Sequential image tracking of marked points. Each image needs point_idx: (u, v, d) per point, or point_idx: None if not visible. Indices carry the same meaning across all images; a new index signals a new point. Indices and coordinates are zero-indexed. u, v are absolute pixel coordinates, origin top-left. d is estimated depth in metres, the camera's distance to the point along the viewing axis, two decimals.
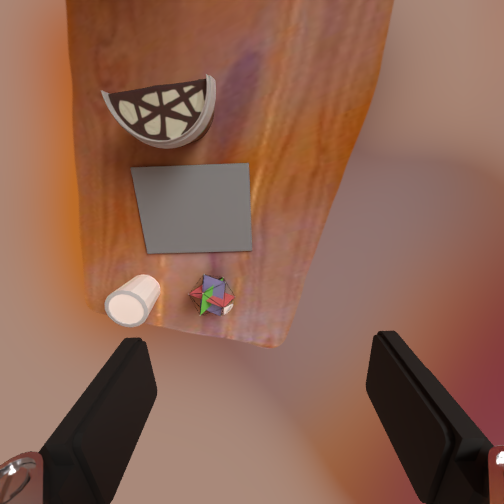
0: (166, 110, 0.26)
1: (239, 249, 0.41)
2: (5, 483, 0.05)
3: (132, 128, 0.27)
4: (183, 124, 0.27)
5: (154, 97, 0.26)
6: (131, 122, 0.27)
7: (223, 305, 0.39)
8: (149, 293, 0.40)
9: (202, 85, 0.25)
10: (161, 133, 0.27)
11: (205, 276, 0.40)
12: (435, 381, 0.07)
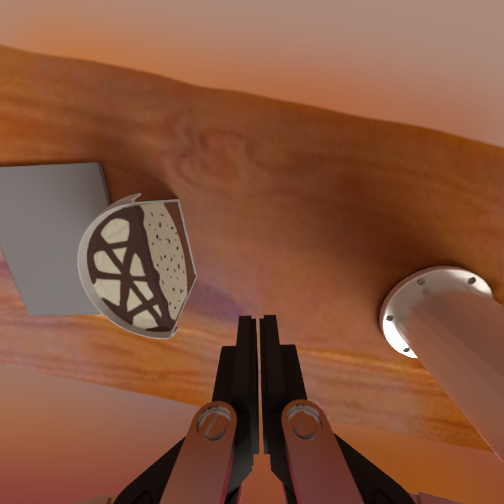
0: (127, 283, 0.19)
1: (25, 301, 0.30)
2: (210, 423, 0.06)
3: (94, 233, 0.18)
4: (116, 300, 0.20)
5: (138, 271, 0.19)
6: (103, 233, 0.18)
7: None
8: None
9: (162, 326, 0.20)
10: (98, 272, 0.19)
11: None
12: (279, 353, 0.08)
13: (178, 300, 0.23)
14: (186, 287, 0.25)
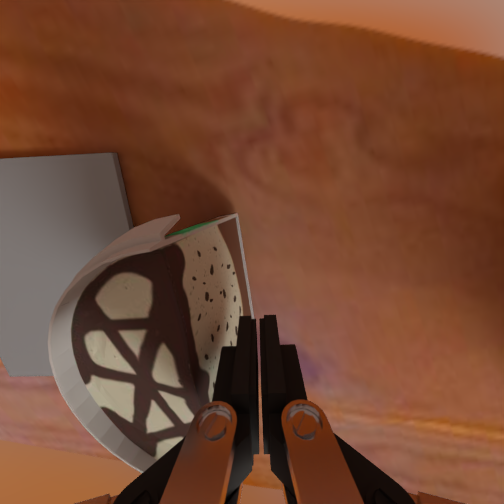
0: (148, 390, 0.10)
1: (3, 357, 0.21)
2: (210, 423, 0.06)
3: (82, 299, 0.08)
4: (127, 413, 0.10)
5: (169, 377, 0.09)
6: (99, 299, 0.08)
7: None
8: None
9: None
10: (94, 366, 0.10)
11: None
12: (279, 353, 0.08)
13: None
14: None
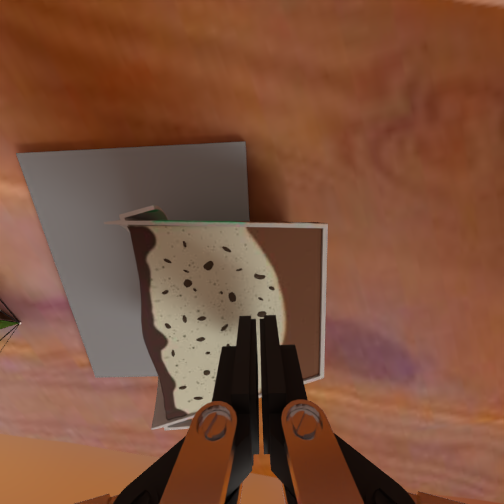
0: None
1: (92, 358, 0.20)
2: (210, 423, 0.06)
3: None
4: None
5: None
6: None
7: None
8: None
9: None
10: None
11: None
12: (279, 353, 0.08)
13: None
14: None
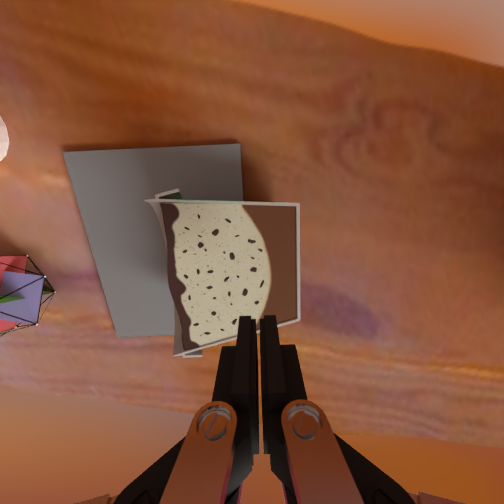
0: None
1: (115, 320, 0.24)
2: (210, 423, 0.06)
3: None
4: None
5: None
6: None
7: None
8: None
9: (182, 340, 0.18)
10: None
11: (40, 279, 0.20)
12: (279, 353, 0.08)
13: (220, 329, 0.18)
14: None
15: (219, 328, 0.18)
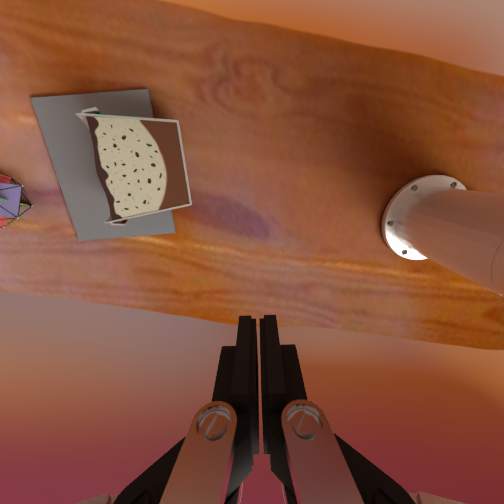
0: None
1: (76, 226, 0.34)
2: (210, 423, 0.06)
3: None
4: None
5: None
6: None
7: None
8: None
9: None
10: None
11: (19, 188, 0.30)
12: (279, 353, 0.08)
13: (135, 206, 0.28)
14: (159, 204, 0.28)
15: (134, 206, 0.28)
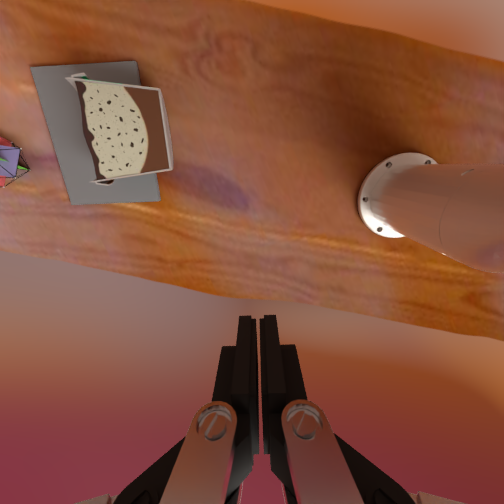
0: None
1: (69, 191, 0.37)
2: (210, 423, 0.06)
3: None
4: None
5: None
6: None
7: None
8: None
9: None
10: None
11: (18, 150, 0.33)
12: (279, 353, 0.08)
13: (118, 168, 0.30)
14: (140, 167, 0.31)
15: (117, 167, 0.30)
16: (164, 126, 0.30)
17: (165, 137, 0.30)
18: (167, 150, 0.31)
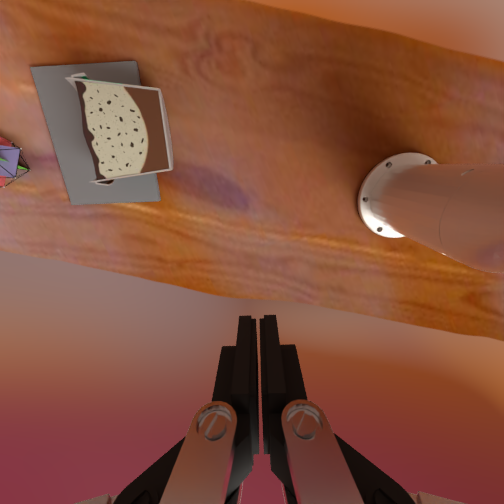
0: None
1: (69, 191, 0.37)
2: (210, 423, 0.06)
3: None
4: None
5: None
6: None
7: None
8: None
9: None
10: None
11: (18, 150, 0.33)
12: (279, 353, 0.08)
13: (118, 168, 0.30)
14: (140, 167, 0.31)
15: (117, 167, 0.30)
16: (164, 126, 0.30)
17: (165, 137, 0.30)
18: (167, 150, 0.31)
